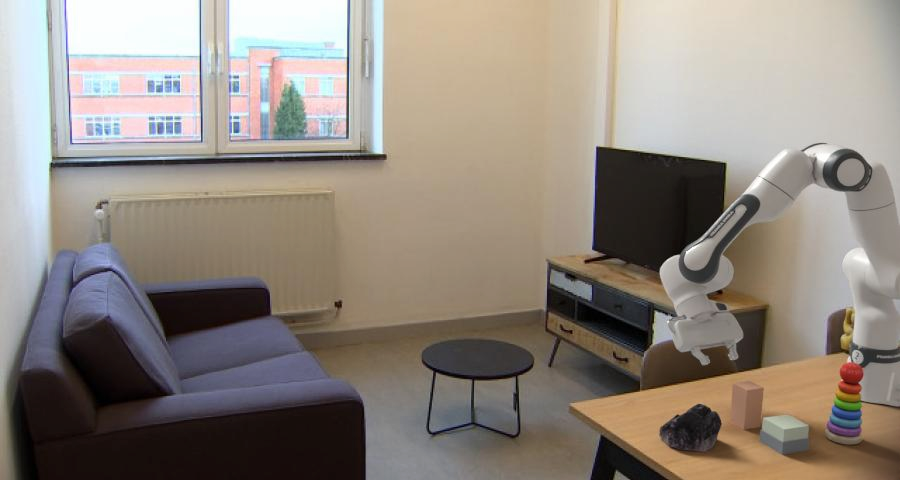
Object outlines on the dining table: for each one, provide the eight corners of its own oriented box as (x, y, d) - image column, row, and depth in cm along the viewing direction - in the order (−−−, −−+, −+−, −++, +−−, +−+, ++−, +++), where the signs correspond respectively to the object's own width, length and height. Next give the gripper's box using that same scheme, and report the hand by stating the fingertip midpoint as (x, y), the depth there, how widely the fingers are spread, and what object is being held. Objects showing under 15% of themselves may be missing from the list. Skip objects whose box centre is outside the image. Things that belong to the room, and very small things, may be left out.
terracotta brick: (746, 419, 216) (749, 380, 214) (760, 426, 211) (763, 387, 210) (729, 422, 214) (733, 383, 212) (743, 429, 210) (747, 390, 208)
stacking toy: (859, 449, 200) (868, 371, 196) (821, 441, 204) (829, 364, 200) (863, 437, 206) (872, 361, 203) (827, 429, 210) (835, 355, 207)
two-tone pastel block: (785, 437, 206) (787, 413, 205) (808, 450, 199) (810, 425, 198) (759, 441, 203) (761, 417, 202) (781, 455, 196) (784, 429, 195)
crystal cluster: (646, 438, 205) (649, 400, 202) (689, 423, 212) (692, 386, 209) (688, 465, 194) (690, 425, 191) (731, 448, 201) (735, 409, 198)
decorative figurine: (874, 352, 271) (879, 305, 268) (873, 360, 263) (878, 311, 261) (840, 347, 275) (845, 301, 272) (838, 354, 268) (843, 307, 265)
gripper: (671, 311, 218) (695, 360, 212) (732, 303, 227) (757, 350, 221) (658, 324, 223) (682, 372, 216) (718, 315, 232) (743, 361, 225)
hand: (720, 361), depth 219 cm, fingers open, 8 cm apart
